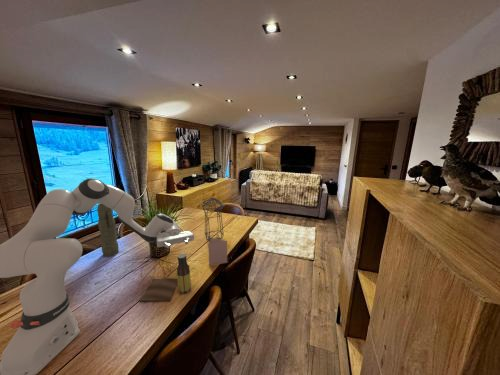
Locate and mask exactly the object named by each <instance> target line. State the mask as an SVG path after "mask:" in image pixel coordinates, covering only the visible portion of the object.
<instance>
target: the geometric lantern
mask: <svg viewBox="0 0 500 375" xmlns="http://www.w3.org/2000/svg"><path fill="white" fill-rule="evenodd" d="M217 204H219V205H220V206H218V207H217V206H216V205H217ZM200 205H201V207H202V210H203V212H204V236H205V239H206V241H208V242H209V241H210V238H211V233H215V232H217V233H216V234H214V235H212V237H213V236H214V237H216V235H217V237H216V238H214V239H218V240H222V239H223V238H224V233H223V232H224V226H223V219H222V218H223V216H222V213H223V212H222V211H223V208H224V207H226V204H223V203H222V200H220V199H217V198H215V197H210V198H208V199H206V200H204V201H203V202H201V203H200ZM211 205H212V206H211ZM213 210H215V211H213ZM209 213H210V215H209V216H208V215H207V214H209ZM213 213H216V215H217V216H216V219H217V220H216V222H219V221H220V222H219V228H220V229H216V230H213V231H211V230H210V228H208V226H210V219H212V218H214V216H211V215H212V214H213ZM219 235H220V236H219ZM218 237H219V238H218ZM209 243H211V241H210V242H209Z"/></svg>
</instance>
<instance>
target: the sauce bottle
mask: <svg viewBox="0 0 500 375" xmlns="http://www.w3.org/2000/svg"><path fill="white" fill-rule="evenodd" d="M177 261H178V265H177V268H176V277H177V280H178V285H177V289H178V293H179V294H180V295H182V296H183V295H184V296H185V295H187V294H189V293H190V292H191V291H192V280H191V268H190V265H189V264H188V262H187V254H186V253H180V254H178V255H177Z"/></svg>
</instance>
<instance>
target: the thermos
mask: <svg viewBox="0 0 500 375" xmlns="http://www.w3.org/2000/svg"><path fill="white" fill-rule="evenodd" d="M96 210H97V216H98V222H97V226H98V231H99V233H100V238H101V240H100V241H101V252H102V256H103V257H104V258H109V257H113V256H116V255H118V253H119V252H120V251H119V242H118V240H117V233H116V228H117V227H116V219H115V218H114V215H113V213H114V212H113V210H112V209H111V208H109V207H107V206H105V205H104V204H99V203H98V204H97V208H96Z"/></svg>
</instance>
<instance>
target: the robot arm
mask: <svg viewBox="0 0 500 375" xmlns="http://www.w3.org/2000/svg"><path fill="white" fill-rule="evenodd" d="M99 204H104V205H105V206H107V207H109V208H111V209H112V211H114V212H115V213H116V215H117V220H119V221H120V223H122V225H124V226H125V227H127V228H128V229H129V230H131V231H133V233H135V234H136V235H138V237H140V238H141V239H143V241H145V242H147V243H149V244H152V243H155V242H156V247H157V248H162V247H165V248H167V249H171V246H173V245H178V244H181V243H184V245H189V242H192V241H194V240H195V234H194V233H193V232H192V231H191V230H186V231H182V230H181V228H180V227H179V224H178V223H177V222H176V221H175V220H173V218H172V217H171V216H170V215H167V214H166V213H162V212H161V213H156V214H155V216H153V217H152V219H151V220H150V222H149V223H147V225H146V226H145V227H143V226H141V224H139V223H138V222H136V221H135V220H134V219H133V213H134V210H135V207H136V201H135V197H134V196H132V195H130V193H127V192H126V191H124V190H122V189H121V188H118V187H116V186H113V185H110V184H107V183H104V182H103V181H102V180H99V179H98V178H97V179H96V178H92V177H91V178H87V179H84V180H83V181H81V182H80V183H79V184H78V185H77V187H75V188H74V190H72V191H70V190H68V189H62V188H61V189H60V188H57V189H53V190H50V191H49V192H47V193H46V195H44V197H43V198H42V199H41V200H40V201H39V203H38V204H37V207H36V208H35V210H34V212H33V214H32V216H31V217H30V219H29V221H28V222H27V223H26V225H25V226H24V227H23V228H21V230H20V231H18V232H17V233H15V235H13V236H12V237H10V238H9V239H8V240H5V241H4V242H3V243H1V244H0V278H1V279H5V278H8V279H9V278H12V277H17V276H18V277H19V276H26V275H31V274H34V275H36V277H35V278H34V279H31V281H29V282H28V283H27V284H26V285H24V286H23V288H22V289H21V291H20V293H19V300H20V304H21V308H22V313H21V316H20V320H13V321H12V322H11V323H10V326H9V328H11V329H14V328H16V329H17V328H18V329H17V330H16V332H15V333H14V335H13V336H12V337H11V339H10V341H9V342H8V344H7V345H6V347H4V350H3V351H2V353H1V357H0V375H38V373H39V372H41V371H42V370H43V369H44V368H45V367H46V366H47V365H48V364H49V363H50V362H51V361H52V360H53V359H54V358H56V356H58V355H59V354H60V353H61V352H62V351H63V350H64V349H65V348H66V347H67V346H68V345H70V343H71V342H72V341H74V340H75V338H77V336H78V335H80V333H81V330H80V328H79V322H78V320H77V318H75V317H74V315H73V314H74V313H73V312H72V309H71V308H70V298H69V295H68V293H67V292H66V285H65V277H66V274H67V272H68V271H69V270H70V269H71V268H72V267H73V266H74V265H75V264H76V263H77V262H79V260H80V258H82V255H83V251H84V250H83V245H82V242H80V240H78V239H77V238H72V237H71V238H70V237H69V238H68V237H59V236H61V235H63V234H64V233H65V232H66V231H67V229H68V227H69V224H70V222H71V218H72V216H83V215H86V214H87V213H89V212H90V211H91V210H92V209H93V208H94V207H95V206H96V205H99ZM57 237H58V238H57Z"/></svg>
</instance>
